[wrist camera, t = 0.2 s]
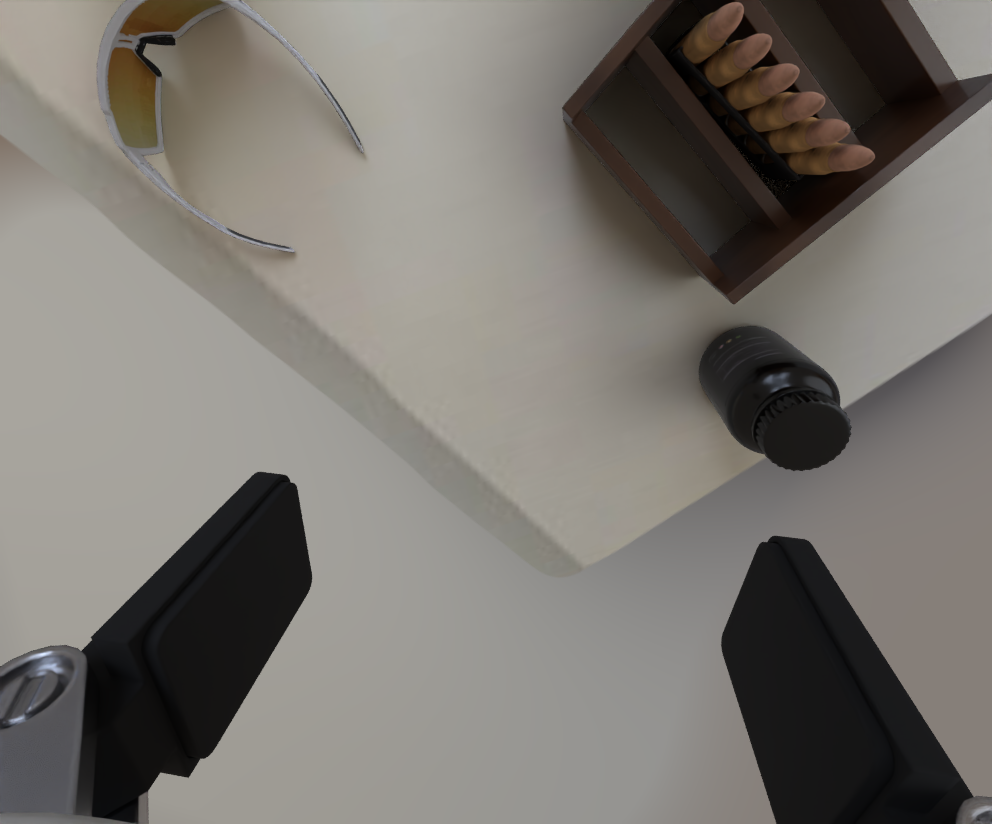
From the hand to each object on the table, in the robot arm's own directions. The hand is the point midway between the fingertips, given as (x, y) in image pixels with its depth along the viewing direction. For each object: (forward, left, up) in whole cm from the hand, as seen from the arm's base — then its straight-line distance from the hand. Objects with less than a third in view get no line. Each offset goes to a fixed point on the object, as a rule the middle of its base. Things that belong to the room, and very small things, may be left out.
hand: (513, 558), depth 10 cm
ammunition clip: (-15, +1, -31) cm, 35 cm away
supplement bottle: (-5, +16, -31) cm, 36 cm away
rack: (-15, +1, -31) cm, 34 cm away
